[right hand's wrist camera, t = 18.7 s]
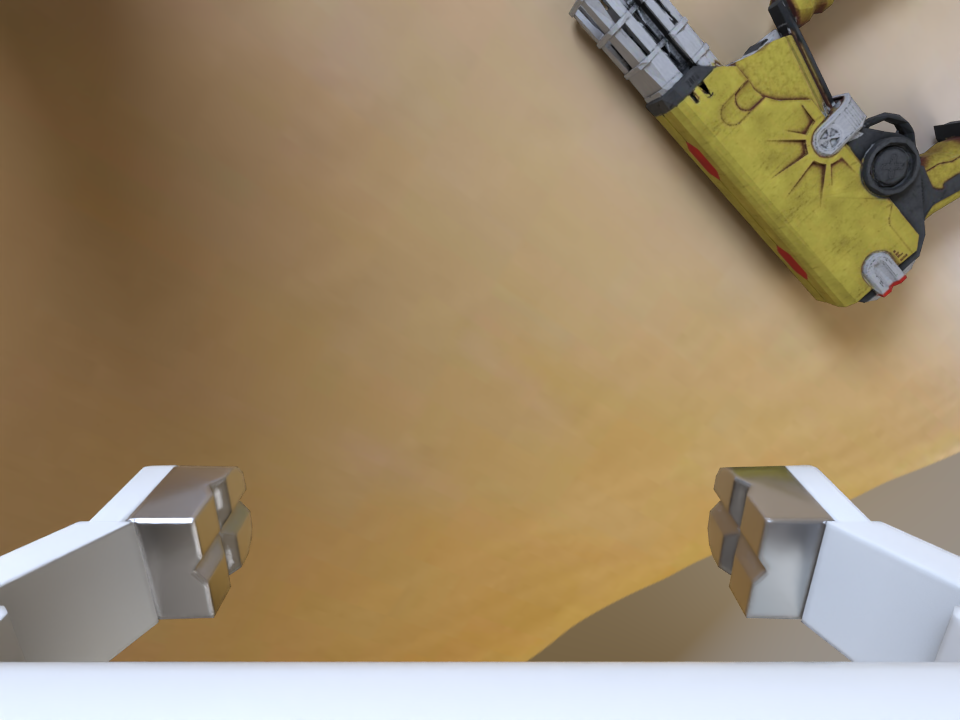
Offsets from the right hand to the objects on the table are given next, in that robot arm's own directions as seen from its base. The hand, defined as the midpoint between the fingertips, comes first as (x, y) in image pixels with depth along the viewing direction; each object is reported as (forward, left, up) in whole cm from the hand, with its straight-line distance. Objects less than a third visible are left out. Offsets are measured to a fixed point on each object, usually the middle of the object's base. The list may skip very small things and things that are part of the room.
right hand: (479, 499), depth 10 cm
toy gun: (-9, +19, -30) cm, 36 cm away
